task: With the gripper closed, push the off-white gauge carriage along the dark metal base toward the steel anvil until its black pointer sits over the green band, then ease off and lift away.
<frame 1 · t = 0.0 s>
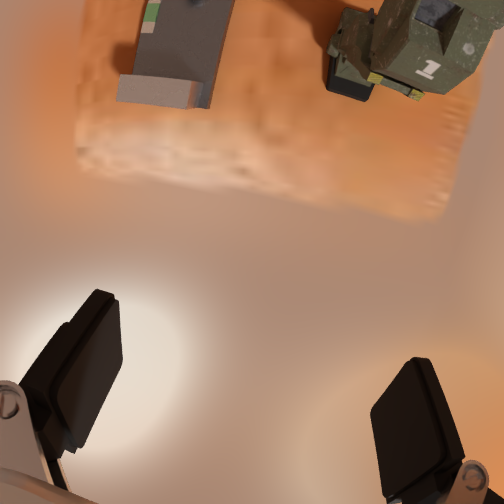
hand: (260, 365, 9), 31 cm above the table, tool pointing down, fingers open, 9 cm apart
gauge base: (189, 14, 29), on the table
mechanical leg: (357, 49, 30), on the table
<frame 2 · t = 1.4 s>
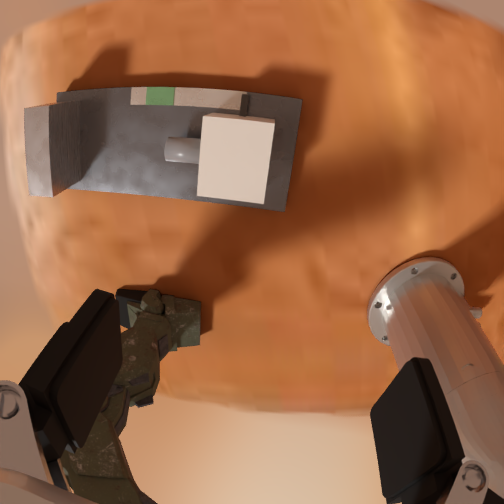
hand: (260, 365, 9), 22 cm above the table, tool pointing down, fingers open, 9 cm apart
gauge carriage: (218, 141, 23), point 4 cm above the table, slide at 0.0 cm
gauge base: (165, 140, 27), on the table
mechanical leg: (166, 312, 37), on the table
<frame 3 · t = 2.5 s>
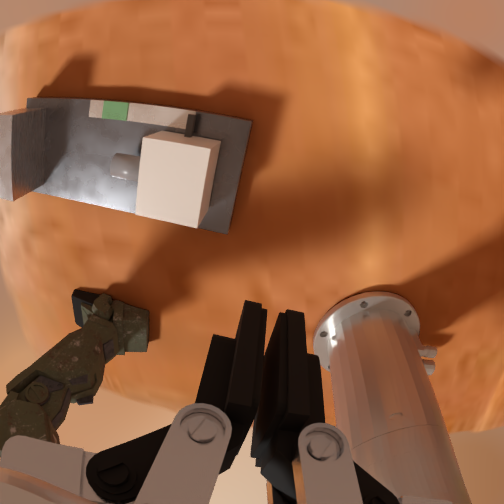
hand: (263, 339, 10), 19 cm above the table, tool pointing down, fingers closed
gauge carriage: (161, 161, 23), point 4 cm above the table, slide at 0.0 cm
gauge base: (120, 153, 27), on the table
mechanical leg: (118, 317, 36), on the table
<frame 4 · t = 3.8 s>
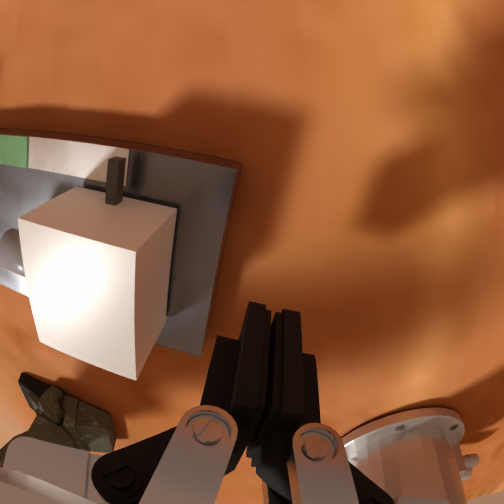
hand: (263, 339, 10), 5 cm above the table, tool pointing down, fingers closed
gauge carriage: (69, 252, 12), point 4 cm above the table, slide at 0.0 cm
gauge base: (35, 215, 15), on the table
mechanical leg: (75, 409, 25), on the table
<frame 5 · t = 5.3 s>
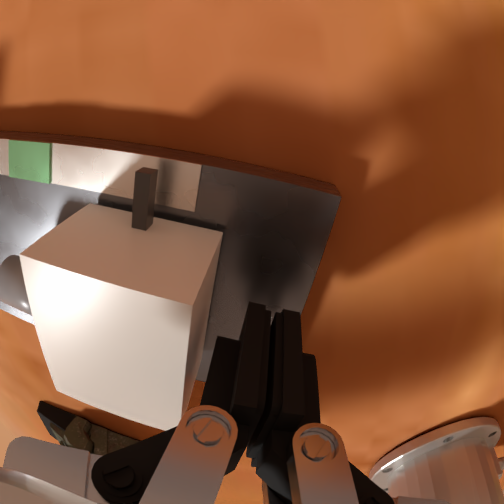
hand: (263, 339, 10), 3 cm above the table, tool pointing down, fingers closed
gauge carriage: (87, 288, 10), point 4 cm above the table, slide at 1.4 cm, touching gripper
gauge base: (58, 238, 13), on the table
mechanical leg: (102, 437, 23), on the table
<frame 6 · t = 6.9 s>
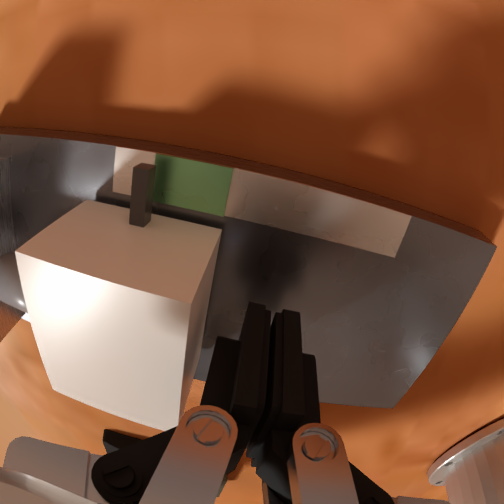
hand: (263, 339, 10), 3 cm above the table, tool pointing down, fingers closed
gauge carriage: (84, 285, 9), point 4 cm above the table, slide at 8.5 cm, touching gripper
gauge base: (192, 271, 13), on the table
mechanical leg: (174, 460, 23), on the table
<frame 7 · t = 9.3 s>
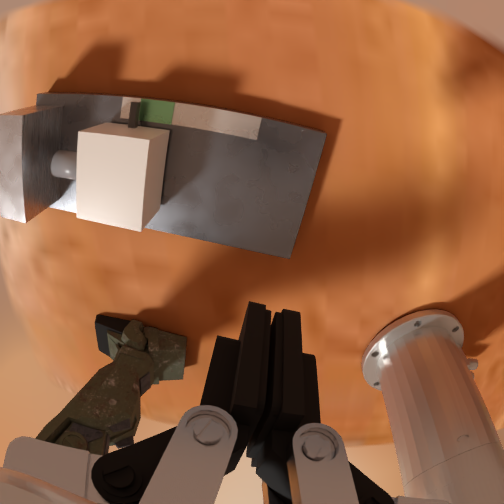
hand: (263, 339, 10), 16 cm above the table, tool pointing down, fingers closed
gauge carriage: (103, 157, 19), point 4 cm above the table, slide at 8.5 cm
gauge base: (158, 162, 23), on the table
mechanical leg: (149, 342, 33), on the table
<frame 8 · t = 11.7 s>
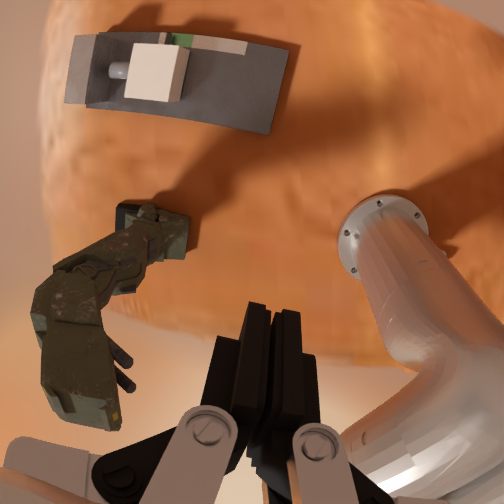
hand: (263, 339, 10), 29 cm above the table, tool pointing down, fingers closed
gauge carriage: (146, 63, 28), point 4 cm above the table, slide at 8.5 cm
gauge base: (180, 75, 32), on the table
mechanical leg: (158, 228, 42), on the table
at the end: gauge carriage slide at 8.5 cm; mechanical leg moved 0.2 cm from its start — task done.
